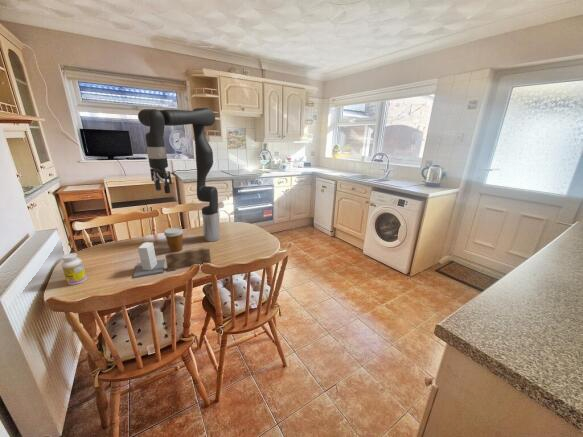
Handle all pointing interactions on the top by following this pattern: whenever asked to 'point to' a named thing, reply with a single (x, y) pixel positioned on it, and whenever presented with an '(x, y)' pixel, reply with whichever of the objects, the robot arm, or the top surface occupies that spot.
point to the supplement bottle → (73, 269)
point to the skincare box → (147, 256)
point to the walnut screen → (187, 258)
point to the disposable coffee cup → (174, 238)
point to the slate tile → (156, 270)
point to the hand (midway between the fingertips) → (163, 191)
